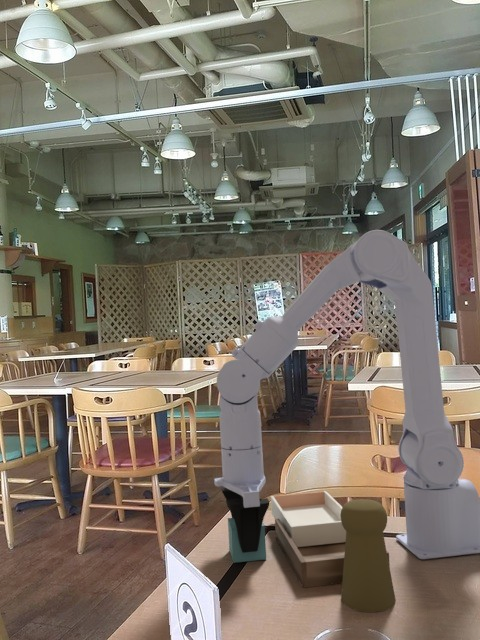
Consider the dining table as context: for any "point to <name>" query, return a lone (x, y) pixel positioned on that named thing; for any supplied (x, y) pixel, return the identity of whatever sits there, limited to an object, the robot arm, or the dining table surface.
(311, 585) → the dock
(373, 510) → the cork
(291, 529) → the tray
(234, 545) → the teal block
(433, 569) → the dining table surface
